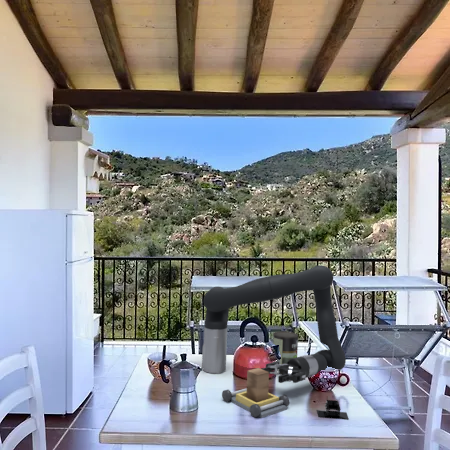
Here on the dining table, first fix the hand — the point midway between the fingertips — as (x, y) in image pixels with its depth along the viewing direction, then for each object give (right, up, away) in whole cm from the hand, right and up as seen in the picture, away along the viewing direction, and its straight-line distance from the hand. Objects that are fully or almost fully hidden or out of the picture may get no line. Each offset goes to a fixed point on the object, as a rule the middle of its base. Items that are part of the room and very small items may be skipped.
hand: (270, 375), depth 147 cm
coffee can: (+10, -9, +35) cm, 37 cm away
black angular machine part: (+19, -10, -9) cm, 23 cm away
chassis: (-5, -8, -3) cm, 10 cm away
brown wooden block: (-5, -7, -3) cm, 9 cm away
